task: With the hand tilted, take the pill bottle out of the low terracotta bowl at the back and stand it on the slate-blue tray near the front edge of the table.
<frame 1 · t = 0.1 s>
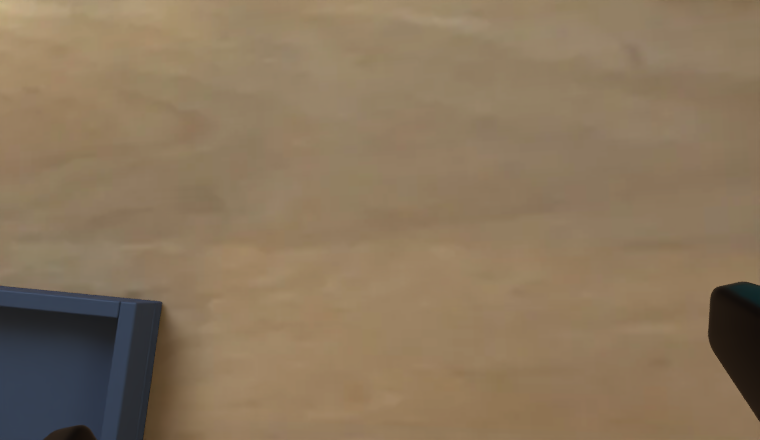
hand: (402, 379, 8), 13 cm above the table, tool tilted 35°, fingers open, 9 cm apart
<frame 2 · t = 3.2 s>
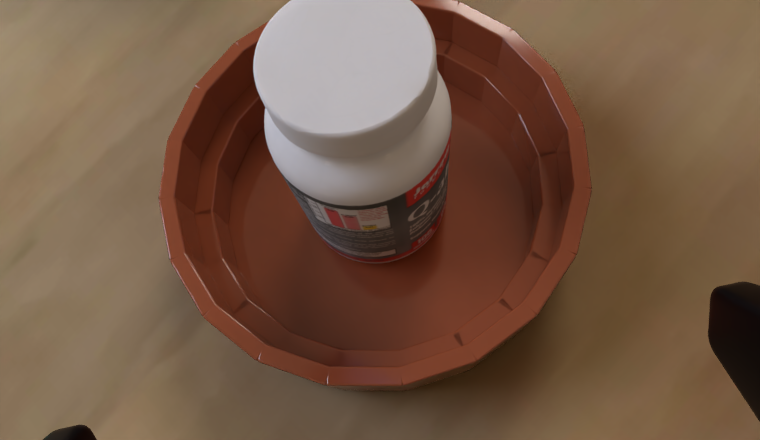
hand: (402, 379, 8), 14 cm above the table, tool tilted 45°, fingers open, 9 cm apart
pill bottle: (378, 202, 23), resting on terracotta bowl
terracotta bowl: (378, 203, 23), on the table
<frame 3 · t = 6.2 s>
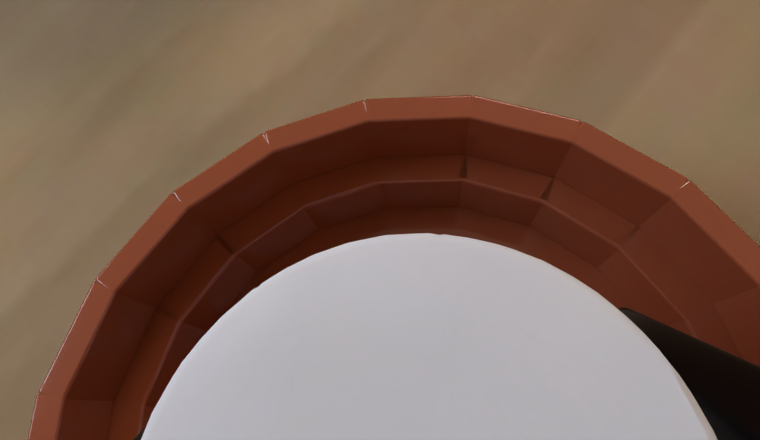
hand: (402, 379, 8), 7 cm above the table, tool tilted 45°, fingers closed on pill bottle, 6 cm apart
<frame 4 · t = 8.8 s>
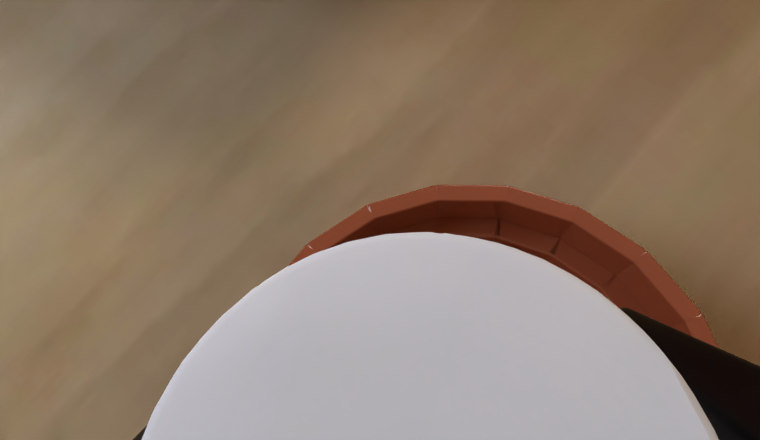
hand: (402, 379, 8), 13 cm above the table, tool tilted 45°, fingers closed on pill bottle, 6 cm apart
terracotta bowl: (465, 421, 20), on the table
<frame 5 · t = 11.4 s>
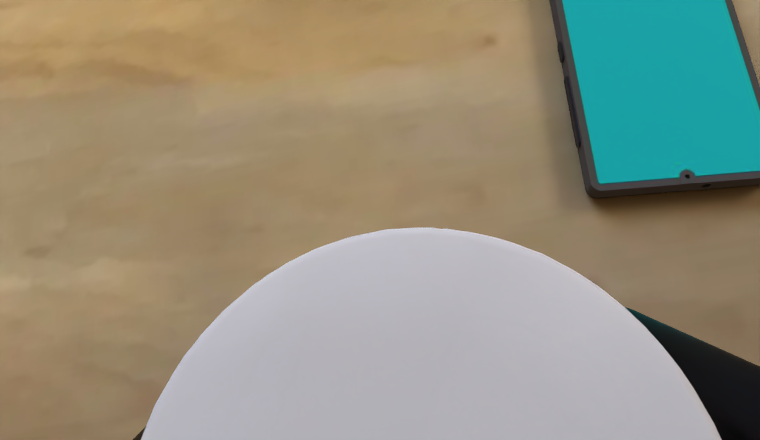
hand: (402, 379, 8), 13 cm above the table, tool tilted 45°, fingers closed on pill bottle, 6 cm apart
smartphone: (637, 36, 24), on the table
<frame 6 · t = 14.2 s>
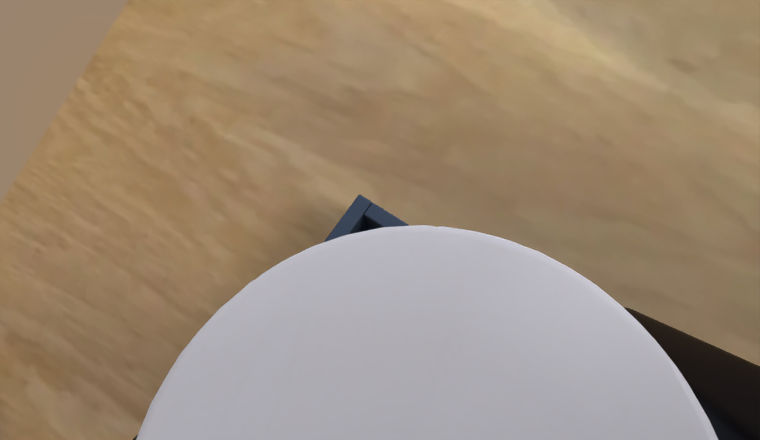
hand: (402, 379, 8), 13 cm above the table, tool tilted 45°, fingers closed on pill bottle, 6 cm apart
tray: (425, 431, 20), on the table
when the fingers open (7 cm above the table, at t = 16.4 s): pill bottle stays where it is, resting on tray.
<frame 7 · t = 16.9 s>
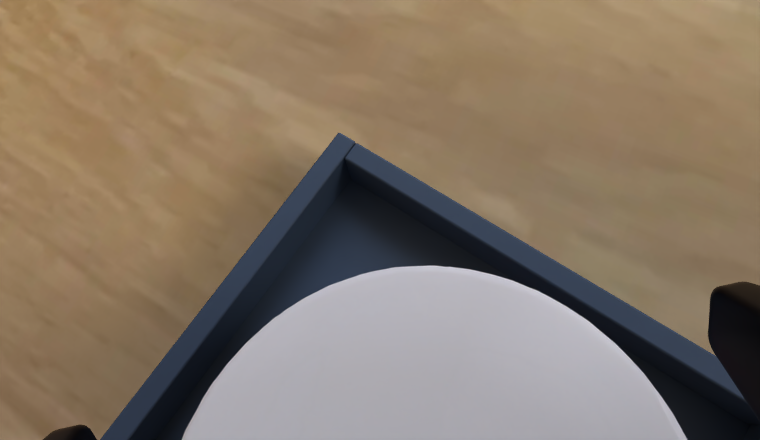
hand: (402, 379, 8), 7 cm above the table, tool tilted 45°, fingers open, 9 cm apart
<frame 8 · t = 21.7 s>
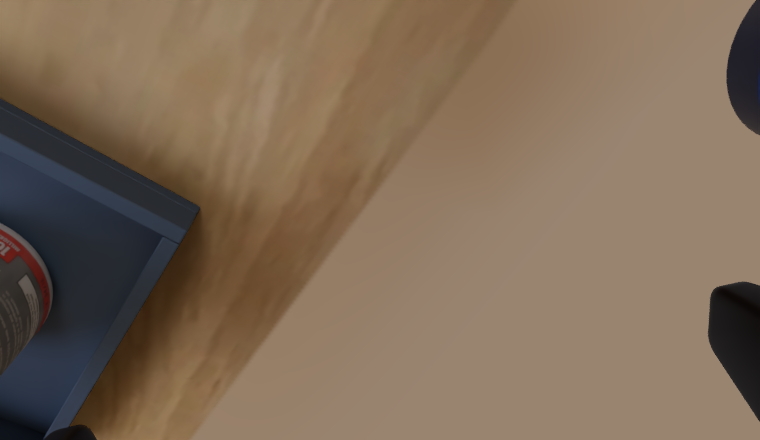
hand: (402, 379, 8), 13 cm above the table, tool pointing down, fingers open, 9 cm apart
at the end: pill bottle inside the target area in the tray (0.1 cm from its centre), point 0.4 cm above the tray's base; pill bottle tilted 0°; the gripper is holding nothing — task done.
